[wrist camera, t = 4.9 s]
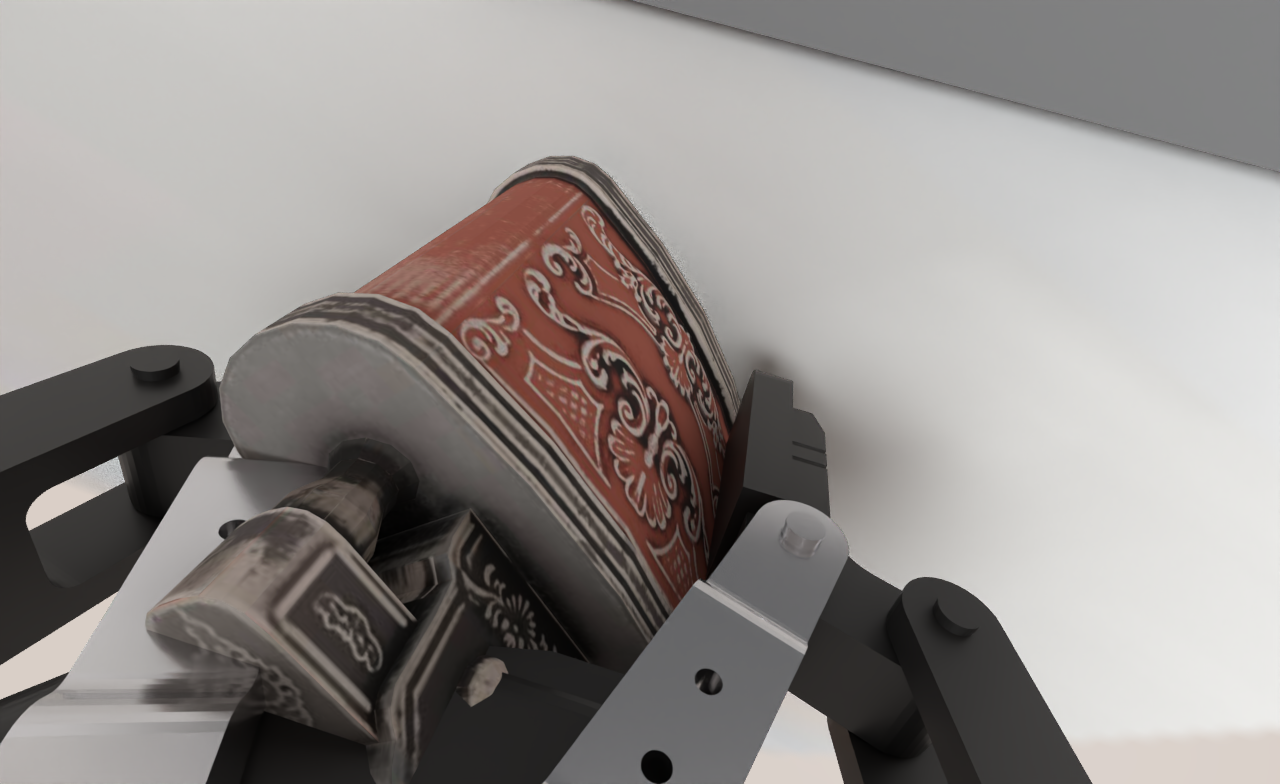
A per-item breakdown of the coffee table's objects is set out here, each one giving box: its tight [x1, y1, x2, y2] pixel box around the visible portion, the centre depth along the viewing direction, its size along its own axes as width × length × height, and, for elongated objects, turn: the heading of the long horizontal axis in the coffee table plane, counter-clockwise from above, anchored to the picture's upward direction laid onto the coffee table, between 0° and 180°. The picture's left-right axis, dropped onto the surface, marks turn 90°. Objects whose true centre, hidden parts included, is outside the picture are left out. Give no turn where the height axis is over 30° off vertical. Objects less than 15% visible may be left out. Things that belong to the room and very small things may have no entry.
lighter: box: [145, 156, 741, 784], centre depth 10 cm, size 8×3×10 cm, turn 28°
